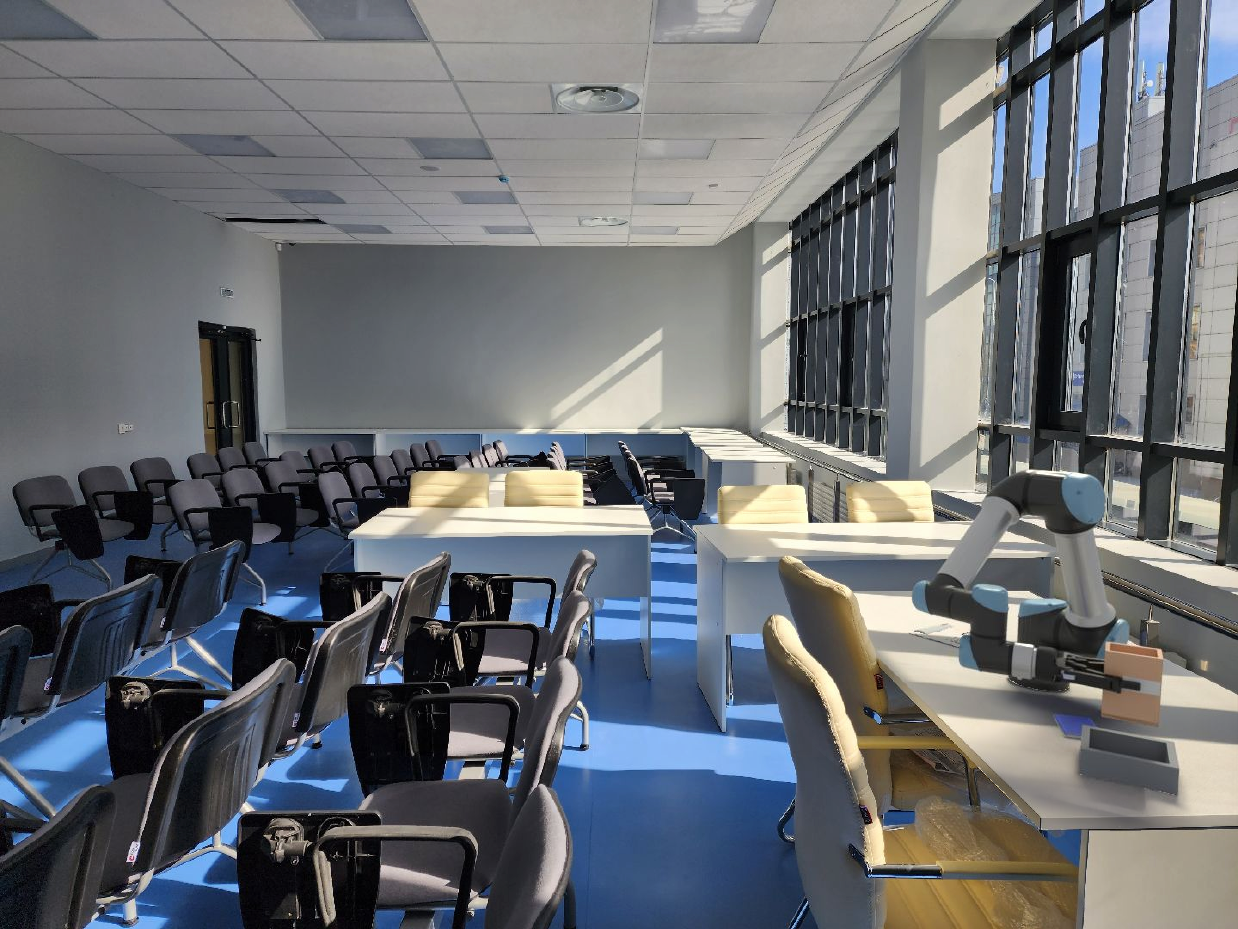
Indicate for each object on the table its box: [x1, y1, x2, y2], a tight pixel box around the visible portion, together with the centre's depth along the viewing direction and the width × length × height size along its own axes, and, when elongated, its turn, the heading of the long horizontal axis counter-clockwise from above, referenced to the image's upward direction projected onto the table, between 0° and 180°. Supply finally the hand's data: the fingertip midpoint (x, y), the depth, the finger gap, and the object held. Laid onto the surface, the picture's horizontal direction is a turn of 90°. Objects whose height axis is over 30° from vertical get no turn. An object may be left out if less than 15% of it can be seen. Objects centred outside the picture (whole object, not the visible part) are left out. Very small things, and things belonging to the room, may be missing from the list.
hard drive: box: [1053, 713, 1097, 740], centre depth 194 cm, size 2×8×12 cm
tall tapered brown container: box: [1100, 641, 1164, 728], centre depth 170 cm, size 8×10×14 cm
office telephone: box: [913, 623, 961, 644], centre depth 268 cm, size 23×3×20 cm
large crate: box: [1078, 725, 1180, 796], centre depth 172 cm, size 15×17×6 cm
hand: (1158, 682), depth 168 cm, fingers closed on tall tapered brown container, 8 cm apart
